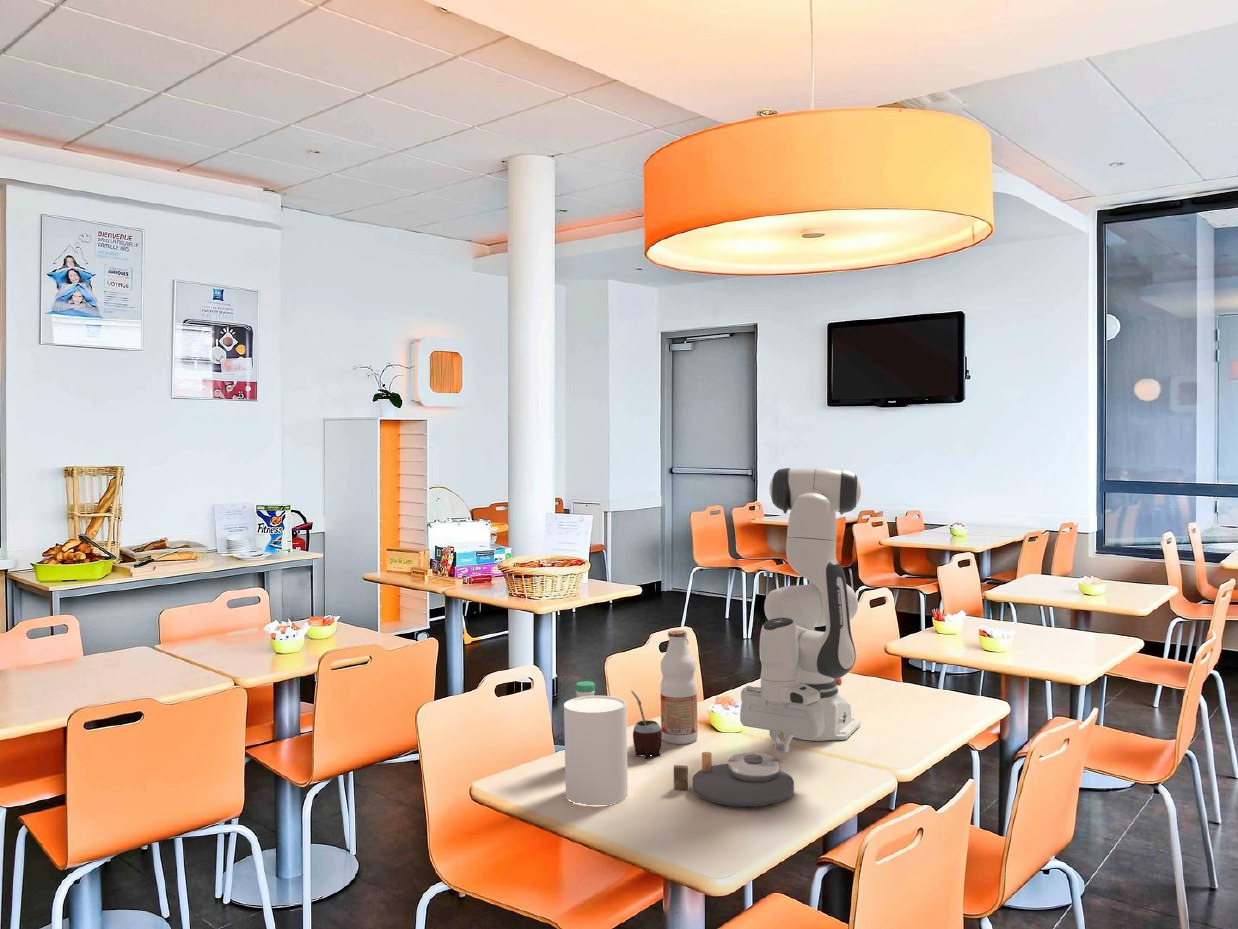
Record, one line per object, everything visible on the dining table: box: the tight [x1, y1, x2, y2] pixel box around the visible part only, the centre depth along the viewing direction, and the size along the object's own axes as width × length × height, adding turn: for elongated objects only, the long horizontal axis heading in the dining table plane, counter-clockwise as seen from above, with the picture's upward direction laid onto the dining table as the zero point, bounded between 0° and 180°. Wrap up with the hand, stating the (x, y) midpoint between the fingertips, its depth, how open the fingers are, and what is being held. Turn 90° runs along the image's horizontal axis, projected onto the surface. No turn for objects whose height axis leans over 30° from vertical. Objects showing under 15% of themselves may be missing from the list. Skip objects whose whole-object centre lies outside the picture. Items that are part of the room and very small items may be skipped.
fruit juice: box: [659, 629, 699, 745], centre depth 239 cm, size 9×9×28 cm
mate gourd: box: [630, 690, 663, 761], centre depth 227 cm, size 8×8×15 cm
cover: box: [728, 752, 780, 783], centre depth 205 cm, size 11×11×4 cm
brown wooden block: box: [673, 764, 689, 792], centre depth 204 cm, size 3×2×5 cm, turn 81°
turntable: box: [691, 751, 795, 807], centre depth 202 cm, size 22×22×6 cm
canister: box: [563, 695, 629, 806], centre depth 202 cm, size 14×14×20 cm
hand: (781, 750), depth 212 cm, fingers closed
